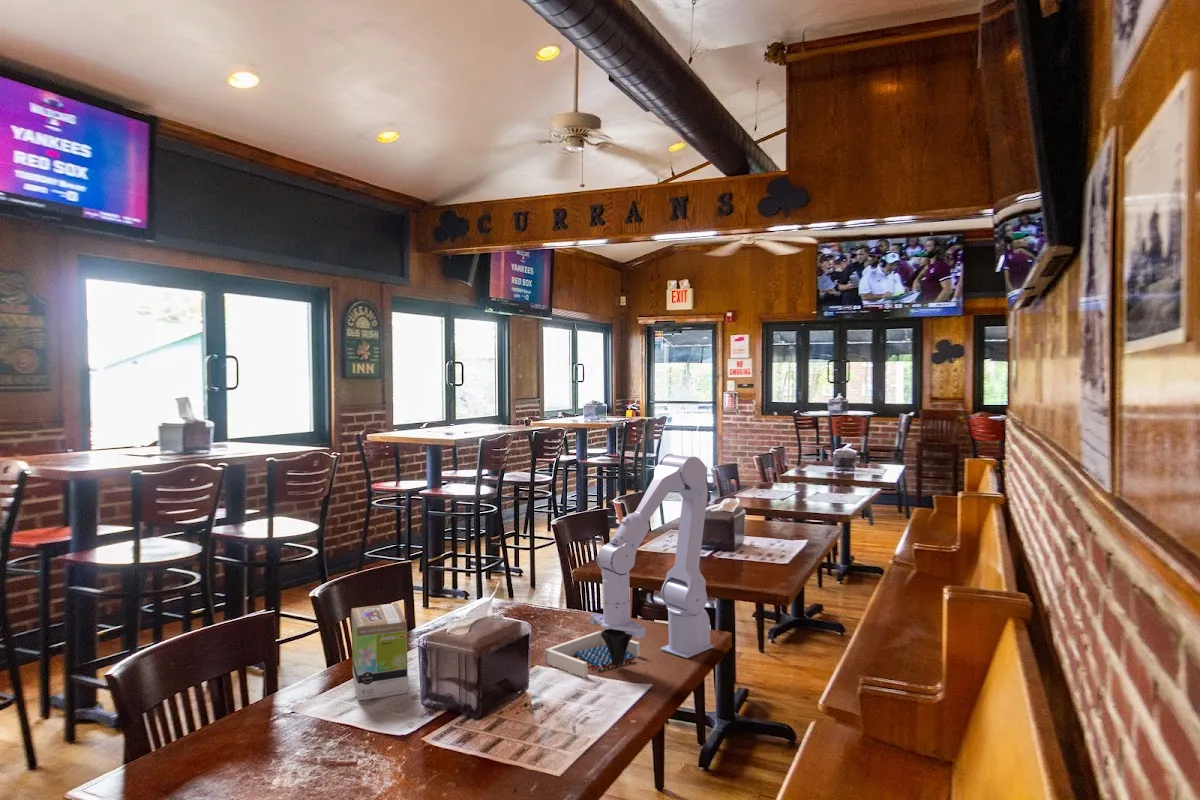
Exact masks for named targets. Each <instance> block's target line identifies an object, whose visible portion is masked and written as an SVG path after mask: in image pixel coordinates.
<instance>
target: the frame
mask: <svg viewBox="0 0 1200 800" xmlns="http://www.w3.org/2000/svg"><path fill="white" fill-rule="evenodd" d="M601 632H602V630H597V631H594V632H592V633H589V634H587V635H583V636H581V637H577V638H575V639H571V640H568V641H566V642H563V643H560V644H556V645H554V646H551V647H548V648H545V649H544V664H546V663H547V664H546V665H548V664H549V666H551V665H552V666H551V667H555V668H556V667H557V669H559V668H560V669H559V670H561V669H563V670H562V671H564V670H566V671H565V672H567V671H568V672H567V673H569V672H571V673H570V674H572V673H574V674H576V675H575V676H577V675H579V676H578V677H580V676H582V677H586V678H588V677H589V676H588V675H589V674H588V667H587V662H584V661H582V660H579V659H576V658H575V657H573V656H574V655H575V654H574V653H575V652H577V651H578V652H579V651H582V650H586V649H587V650H588V648H590V649H591V648H594V647H595V648H597V647H599V646H602V647H603V646H604V645H606V643H605V641H604V639H603V638H602V636H601ZM626 652H629V653H627V654H633V655H631V656H634V657H635V658H639V657H641V644H640V642H638V641H635V640H632V639H631V640H630V642H629V644H628V647H627V650H626ZM574 674H573V675H574ZM587 676H588V677H587ZM582 677H581V678H582Z"/></svg>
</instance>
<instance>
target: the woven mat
mask: <svg viewBox="0 0 1200 800" xmlns="http://www.w3.org/2000/svg"><path fill="white" fill-rule="evenodd" d="M627 653H629V652H626V653H625V658H624V662H623V664H621V665H618V666H616V665H613V664H612V660H611V657H610V653H609V650H608V647H607V645H604V646H601V645H600V646H597V647H594V648H591V649H590V648H588V650H587V649H586V650H582V651H579V652H578V651H577V652H575V653H574V654H575V655H572V657H573V658H576V659H579V660H582V661H584V662H587V666H588V667H587V669H591V670H592V671H594V672H596V673H599V671H601V672H602V671H604V670H605V671H608V670H609V669H612V668H615V667H620V666H625V665H630V663H631V664H633V663H635V660H636V657H635V656H631V655H633V654H627Z"/></svg>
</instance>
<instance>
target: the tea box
mask: <svg viewBox="0 0 1200 800" xmlns="http://www.w3.org/2000/svg"><path fill="white" fill-rule="evenodd" d="M350 614H351V616H350V617H351V618H350V619H351V620H350V621H351V657H352V658H351V659H352V660H351V661H352V663H351V664H352V676H353V677H352V678H353V680H354V687H355V692H356V696H357V700H358V701H367V700H373V699H379V698H386V697H391V696H398V695H402V694H408V691H409V689H408V688H409V685H408V682H409V681H408V680H409V679H408V676H409V675H408V674H409V673H408V626H407V625H408V624H407V620H406V618H405V615H404V614H403V612H402V610H401V607H400V606H399V604H398V603H397V602H394V603H387V604H378V605H377V604H376V605H369V606H368V605H367V606H362V607H353V608H351V613H350Z"/></svg>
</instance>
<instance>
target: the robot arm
mask: <svg viewBox="0 0 1200 800" xmlns="http://www.w3.org/2000/svg"><path fill="white" fill-rule="evenodd" d="M653 470H654V471H653V472H654V474H653V475H654V476H653V478H652V480H651V482H650V484H649V486H648V487H647V489H646V491H645V493H644V495H643V497H642V499H641V501H640V502H639V504H638V506H637V508H636V510H635V511H634V512H632V513H631V512H630V513H628V514H626V516H623V517H622V518H621V520H620V522H621V524H620V525H619V527H618V528H617V530H616V531H615V533H614V534H613V536H611V538H610V540H609V542H608V543H606V544H603V545H602V547H601V548H600V550H599V551H598V554H597V555H598V556H596V557H595V561H596V563H597V565H598V567H599V568H600V572H601V577H602V611H603V612H602V613H603V614H601V613H597V612H596V613H593V614H591V615H589V616H590V617H589V619H590V620H589V622H590V625H593V626H594V625H598V626H600V628H601V629H604V630H603V631H602V630H601V631H602V632H601V636H602V638H603V639H604V641H605V643H606V645H607V647H608V650H609V653H610V657H611V660H612V664H613V665H615V666H616V667H619V666H618V665H620V666H622V665H621V664H623V662H624V658H625V653H626V650H627V647H628V644H629V642H630V640H632V638H633V637H635V639H637V640H638V639H641V638H645V637H646V627H645V626H642V625H641V624H638V623H637V622H635V621H633V620H632V619H631V597H630V596H631V595H630V594H631V591H630V590H631V589H630V571H631V570H632V568H634V567H635V563H636V555H637V550H638V548H639V547H640V545H641V543H642V542H643V540H644V539H645V537H646V536H647V534H648V532H649V530H650V524H649V522H650V521H649V520H650V519H651V518H652V517H653V515H654V513H655V512H656V511H657V509H658V508H659V507H660V505H661V504H662V503H663V501H664V500H665V498H666V497H667V496H668V494H670V493H672V492H675V491H678V493H679V495H680V496H681V497H682V500H681V501H682V502H681V509H680V517H679V524H678V525H679V526H678V531H677V532H678V534H677V542H676V549H675V558H674V565H673V566H672V568H670V569H668V571H667V572H666V575H665V580H664V582H663V584H662V585H661V586H662V587H661V589H660V597H661V600H662V602H663V603H664V604H666V609H667V617H668V618H667V619H668V620H667V621H668V624H667V625H668V644H667V645H664V646H662V647H660V651H663V652H666V653H670V654H672V655H676V656H679V657H682V658H686V659H689V658H691V657H694V656H696V655H698V654H701V653H704V652H705V651H706V652H707V651H708V650H710V649H712V648H714V645H713V644H711V627H710V626H711V625H710V624H711V621H710V616H709V613H708V612H707V610H706V609H705V607H706V605H707V601H708V595H707V594H708V593H707V590H706V585H707V580H706V578H705V577H704V576H703V574H702V573H701V572H700V570H699V569H700V562H701V561H700V560H701V554H702V545H703V536H704V529H705V528H704V527H705V519H706V518H705V517H706V511H707V503H708V502H707V501H708V496H709V495H708V492H709V491H708V490H709V489H708V485H707V474H708V467H707V466H706V464H705V463H704V462H703V461H702V460H701V459H700V458H699V457H698V456H686V455H679V454H678V455H676V454H673V453H667V454H664V455H662V456H661V458H660V460H659V462H658V464H657V465H656V466H655V467H654V469H653Z"/></svg>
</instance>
